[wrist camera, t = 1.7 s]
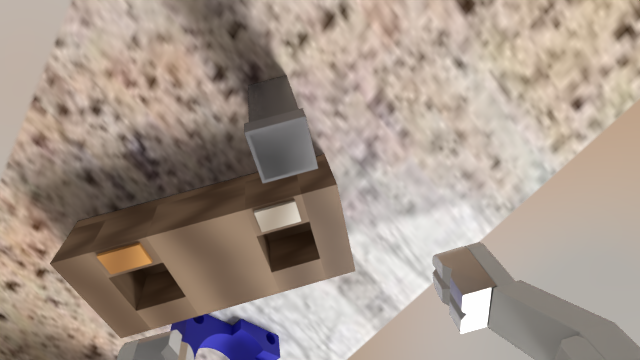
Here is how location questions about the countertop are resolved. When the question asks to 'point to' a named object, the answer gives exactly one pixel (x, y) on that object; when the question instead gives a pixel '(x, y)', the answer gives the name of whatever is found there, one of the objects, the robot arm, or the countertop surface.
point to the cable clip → (229, 338)
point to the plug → (278, 131)
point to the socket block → (207, 249)
